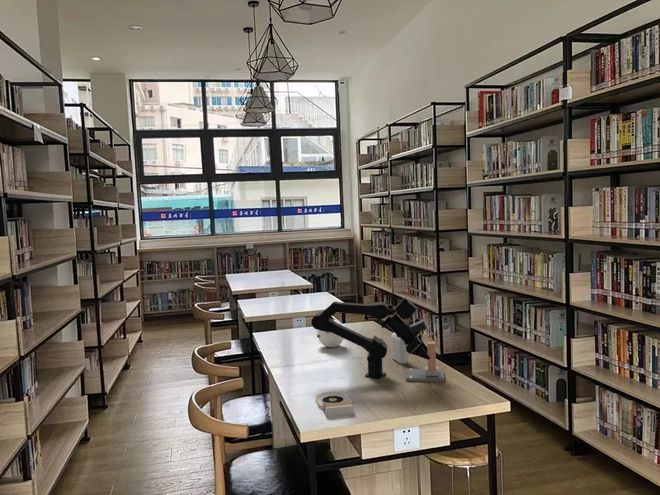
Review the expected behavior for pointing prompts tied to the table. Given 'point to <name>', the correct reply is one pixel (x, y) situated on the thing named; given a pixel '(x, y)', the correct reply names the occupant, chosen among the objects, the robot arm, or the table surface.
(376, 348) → the robot arm
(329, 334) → the white piece
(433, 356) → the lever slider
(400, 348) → the photo printer
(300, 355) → the table surface
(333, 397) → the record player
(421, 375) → the track board
